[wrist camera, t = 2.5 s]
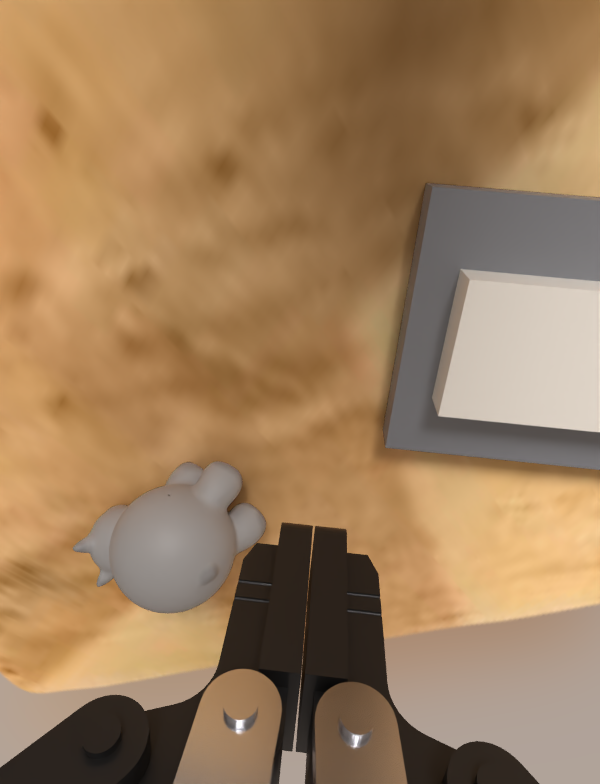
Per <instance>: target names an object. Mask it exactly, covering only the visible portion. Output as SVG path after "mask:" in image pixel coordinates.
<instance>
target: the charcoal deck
mask: <svg viewBox="0 0 600 784" xmlns="http://www.w3.org/2000/svg"><path fill="white" fill-rule="evenodd" d="M460 269H466V270H477V271H489V272H500V273H511V274H522V275H533V276H544V277H555V278H567V279H578V280H589V281H600V198H599V197H587V196H575V195H563V194H551V193H539V192H527V191H515V190H503V189H492V188H480V187H468V186H456V185H444V184H432V183H426V186H425V192H424V197H423V203H422V209H421V214H420V220H419V226H418V232H417V237H416V243H415V249H414V255H413V260H412V266H411V272H410V277H409V283H408V289H407V295H406V300H405V306H404V312H403V317H402V323H401V329H400V335H399V340H398V346H397V352H396V358H395V363H394V369H393V375H392V380H391V386H390V392H389V398H388V403H387V409H386V415H385V420H384V426H383V434H384V441H385V448H393V449H403V450H412V451H422V452H432V453H441V454H451V455H461V456H470V457H480V458H490V459H499V460H509V461H519V462H529V463H538V464H548V465H558V466H567V467H577V468H587V469H596V470H600V432H591V431H581V430H571V429H561V428H551V427H541V426H531V425H521V424H511V423H501V422H491V421H481V420H471V419H461V418H451V417H441V416H438V414H437V411H436V408H435V405H434V402H433V399H432V395H433V391H434V386H435V382H436V377H437V373H438V368H439V364H440V359H441V354H442V350H443V345H444V341H445V336H446V332H447V327H448V323H449V318H450V314H451V309H452V305H453V300H454V296H455V291H456V287H457V282H458V277H459V273H460Z"/></svg>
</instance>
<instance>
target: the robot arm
mask: <svg viewBox="0 0 600 784" xmlns="http://www.w3.org/2000/svg"><path fill="white" fill-rule="evenodd" d="M312 529H313V526H310V525H301V524H292V523H282V525H281V531H280V538H279V544H278V545H269V544H260V543H256V545H255V546H254V547H253V548H252V550H251V551H250V552H249V553H248V554H247V556H246V557H245V558H244V559H243V564H242V568H241V572H240V576H239V582H238V585H237V589H236V593H235V599H234V602H233V606H232V610H231V614H230V618H229V623H228V627H227V631H226V635H225V639H224V644H223V648H222V652H221V656H220V660H219V664H218V667H217V670H216V673H215V674H214V676H213V678H212V679H211V681H210V682H209V683H208V685H207V686H206V687H205V688H204V689H203V690H201V691H200V692H199V693H198V694H196V695H195V696H193V697H192V698H190V699H188V700H186V701H184V702H181V703H178V704H174V705H170V706H165V707H161V708H156V709H152V710H147V711H144V709H143V708H142V706H141V705H140V704H139V703H138V702H136V701H135V700H133V699H131V698H129V697H126V696H121V695H109V696H104V697H100V698H97V699H95V700H93V701H91V702H89V703H87V704H86V705H84V706H83V707H81V708H80V709H78V710H77V711H76V712H74V713H73V714H72V715H70V716H69V717H68V718H66V719H65V720H64V721H62V722H61V723H60V724H58V725H57V726H56V727H54V728H53V729H52V730H50V731H49V732H47V733H46V734H45V735H43V736H42V737H41V738H39V739H38V740H37V741H35V742H34V743H33V744H31V745H30V746H29V747H27V748H26V749H25V750H23V751H22V752H21V753H19V754H18V755H17V756H15V757H14V758H13V759H11V760H10V761H9V762H7V763H6V764H5V765H3V766H2V767H1V768H0V784H279V777H280V766H281V756H282V750H285V751H292V749H293V740H294V731H295V723H296V714H297V705H298V696H299V688H300V680H301V690H300V703H299V717H298V729H297V742H296V752H303V753H307V759H306V775H305V784H539V783H538V782H537V781H536V780H535V778H534V777H533V776H532V775H531V774H530V773H529V772H528V771H527V770H526V769H525V768H524V766H523V765H522V764H521V763H520V762H519V761H518V760H517V759H515V757H513V756H512V755H511V754H510V753H508V752H507V751H505V750H504V749H502V748H500V747H498V746H496V745H493V744H490V743H486V742H478V741H476V742H469V743H467V744H464V745H462V746H461V747H459V748H458V749H457V750H456V749H454V748H451V747H449V746H447V745H445V744H443V743H441V742H439V741H437V740H435V739H433V738H431V737H429V736H427V735H425V734H423V733H421V732H420V731H418V730H416V729H415V728H414V727H412V726H411V725H410V724H409V723H408V722H407V721H406V720H405V719H404V718H403V717H402V716H401V714H400V713H399V712H398V710H397V709H396V707H395V705H394V703H393V702H392V699H391V697H390V694H389V690H388V684H387V675H386V674H387V673H386V661H385V649H384V637H383V625H382V617H381V601H380V589H379V576H378V573H377V571H376V569H375V567H374V566H373V564H372V562H371V560H370V559H369V557H368V555H361V554H352V553H347V532H346V529H339V528H330V527H320V526H315V533H314V541H313V550H312V559H311V568H310V577H309V567H310V555H311V542H312ZM308 580H309V588H308ZM307 593H308V599H307ZM306 606H307V612H306ZM305 619H306V625H305ZM304 631H305V638H304ZM303 644H304V651H303ZM302 657H303V664H302ZM301 670H302V677H301Z"/></svg>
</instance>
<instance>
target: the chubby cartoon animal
mask: <svg viewBox="0 0 600 784" xmlns="http://www.w3.org/2000/svg"><path fill="white" fill-rule="evenodd" d="M241 488H242V477H241V474H240V473H239V471H238V470H237V469H236V468H234V467H233V466H231V465H229V464H227V463H224V462H220V461H215V462H212V463H211V464H209V465H208V466H207V467H206V468H205V469H204V470H203V469H202V468H201V467H199V466H198V465H196V464H194V463H191V462H186V463H183V464H181V465H180V466H178V467H177V468H176V469H175V470H174V471H173V472H172V474H171V475H170V477H169V478H168V480H167V482H166V485H165V486H161V487H158V488H155V489H152V490H150V491H148V492H146V493H144V494H143V495H141V496H140V497H138V498H137V499H135V500H134V501H133V502H132V503H131V504H130V505H129V506H127V505H116V506H113V507H111V508H110V509H108V510H107V511H106V512H105V513H104V514H103V515H102V516H100V517H99V518H98V520H97V521H96V522H95V524H94V526H93V528H92V530H91V532H90V533H89V534H88V536H87V537H85V538H84V539H82V540H81V541H79V542H78V543H77V544H76V545H75V546H74V547H73V550H74V551H76V552H83V553H90V555H91V557H92V559H93V561H94V562H95V563H96V564H97V565H98V567H99V568H100V575H99V577H98V580H97V586H98V587H100V586H103V585H104V584H106V583H108V582H109V581H110V580H112V579H113V578H114V579H115V581H116V583H117V585H118V587H119V588H120V590H121V591H122V592H123V593H124V595H125V596H126V597H127V598H128V599H130V600H131V601H132V602H134V603H135V604H136V605H138V606H140V607H142V608H144V609H147V610H150V611H153V612H158V613H177V612H183V611H186V610H189V609H192V608H194V607H196V606H198V605H200V604H202V603H204V602H205V601H206V600H208V599H209V598H210V597H212V596H213V595H214V594H215V593H216V592H217V591H218V590H219V588H220V587H221V586H222V585H223V583H224V582H225V580H226V578H227V577H228V575H229V573H230V570H231V568H232V565H233V561H234V557H235V555H236V554H238V553H240V552H242V551H244V550H246V549H247V548H249V547H251V546H252V545H253V544H255V543H256V542H257V541H258V540H259V539H260V538H261V537H262V535H263V534H264V532H265V529H266V521H265V518H264V516H263V515H262V514H261V512H260V511H259V510H258V509H257V508H255V507H254V506H252V505H251V504H248V503H240V504H238V505H236V506H235V507H234V508H233V509H232V510H231V511H230V512H228V511H227V507H228V506H229V505H230V504H231V503H232V501H233V500H234V499H235V498H236V497H237V495H238V494H239V492H240V490H241Z"/></svg>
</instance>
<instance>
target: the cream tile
mask: <svg viewBox="0 0 600 784" xmlns="http://www.w3.org/2000/svg"><path fill="white" fill-rule="evenodd" d="M432 399H433V402H434V405H435V408H436V411H437V414H438V416H441V417H451V418H461V419H471V420H481V421H491V422H501V423H511V424H521V425H531V426H541V427H551V428H561V429H571V430H581V431H591V432H600V281H589V280H578V279H567V278H555V277H544V276H533V275H522V274H511V273H500V272H489V271H477V270H466V269H460V273H459V277H458V282H457V287H456V291H455V296H454V300H453V305H452V309H451V314H450V318H449V323H448V327H447V332H446V336H445V341H444V345H443V350H442V354H441V359H440V364H439V368H438V373H437V377H436V382H435V386H434V391H433V395H432Z"/></svg>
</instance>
